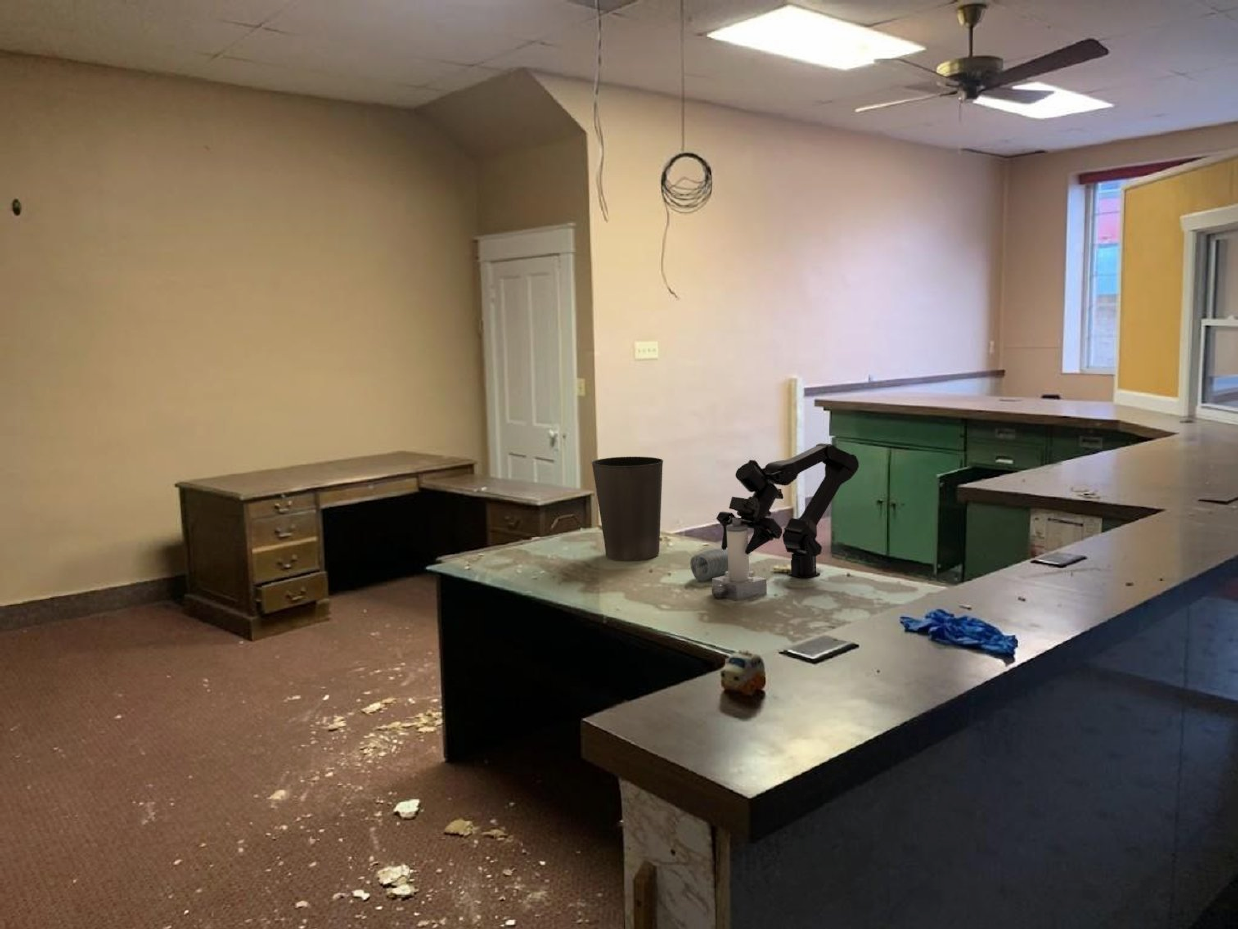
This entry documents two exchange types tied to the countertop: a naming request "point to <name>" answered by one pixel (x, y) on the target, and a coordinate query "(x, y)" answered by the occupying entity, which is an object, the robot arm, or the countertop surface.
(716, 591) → the studded square plate
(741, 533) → the white bottle
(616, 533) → the waste basket
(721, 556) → the spool
